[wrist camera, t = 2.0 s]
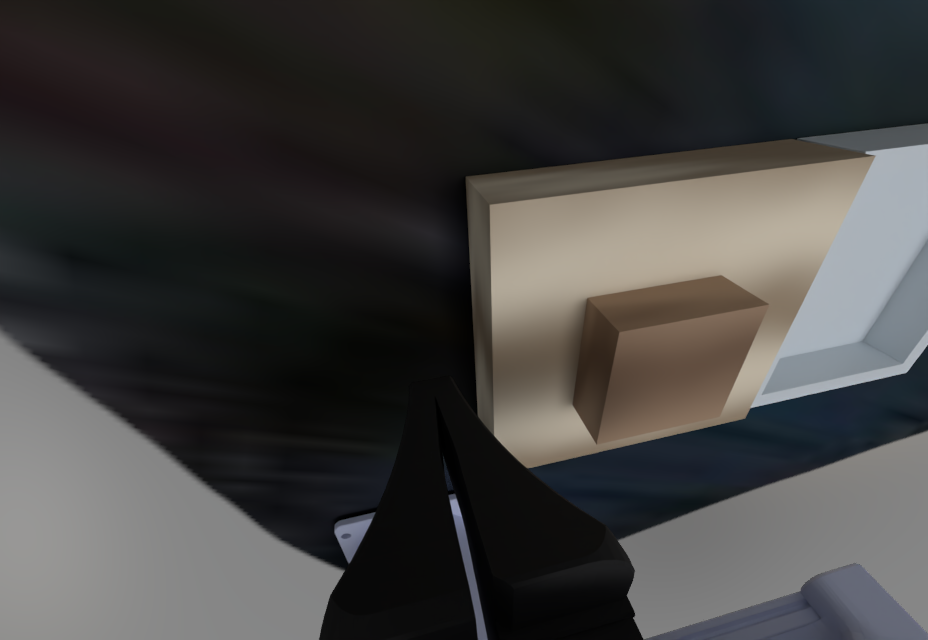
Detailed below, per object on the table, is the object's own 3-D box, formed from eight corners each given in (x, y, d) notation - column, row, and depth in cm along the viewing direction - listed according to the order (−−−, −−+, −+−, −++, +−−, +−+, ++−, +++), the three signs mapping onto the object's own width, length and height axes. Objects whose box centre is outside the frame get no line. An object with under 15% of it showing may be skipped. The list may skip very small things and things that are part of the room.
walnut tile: (684, 381, 17) (719, 416, 15) (572, 404, 16) (596, 444, 14) (721, 275, 14) (769, 304, 12) (587, 297, 13) (619, 332, 12)
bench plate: (701, 377, 22) (744, 418, 19) (478, 424, 20) (494, 475, 17) (791, 138, 15) (875, 155, 12) (465, 176, 13) (489, 204, 11)
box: (858, 344, 23) (906, 372, 21) (705, 376, 22) (741, 409, 20) (1004, 114, 16) (1096, 123, 14) (797, 138, 15) (866, 151, 13)
